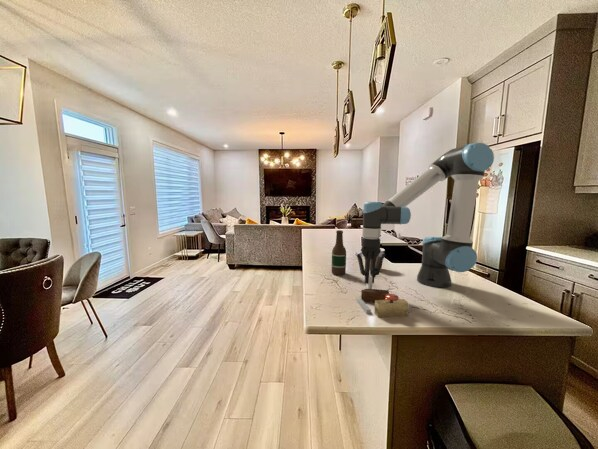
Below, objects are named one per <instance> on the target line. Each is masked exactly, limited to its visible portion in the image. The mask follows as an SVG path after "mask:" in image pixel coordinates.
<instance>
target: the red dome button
mask: <svg viewBox="0 0 598 449" xmlns="http://www.w3.org/2000/svg"><path fill="white" fill-rule="evenodd" d="M385 298H386V299H388V300H375V303H374V314H375V316H376V317H377V318H389V317H391V318H394V317H396V316H397V317H408V316H409V315H408V314H409V312H408V306H409V302H408V300H406V299H405V298H399V296H398V295H397V294H394V293H389V294H386V295H385ZM398 298H399V299H398Z"/></svg>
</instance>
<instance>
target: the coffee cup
mask: <svg viewBox="0 0 598 449" xmlns="http://www.w3.org/2000/svg"><path fill="white" fill-rule="evenodd" d="M380 250H381V252H382V253H384V254H385V251H386V250H385V249H384V248H382V247H380ZM378 257H379V255H378V256H377V258H376V263H375V267H376V264H377V260H378ZM370 266H371V260H370ZM382 267H383V262H382V265H381V269H380V271H381V270H382Z"/></svg>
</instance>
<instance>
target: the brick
mask: <svg viewBox="0 0 598 449" xmlns="http://www.w3.org/2000/svg"><path fill="white" fill-rule="evenodd" d="M389 292H390V291H389V290H387V289H378V288H375V289H374V288H372V289H366V288H364V289H361V295H360V299H362V300H363V301H364V303H371V304H372V303H373V304H375V300H388V299H386V298H385V295H386V294H390V293H389Z"/></svg>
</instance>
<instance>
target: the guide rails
mask: <svg viewBox="0 0 598 449" xmlns="http://www.w3.org/2000/svg"><path fill="white" fill-rule="evenodd" d="M398 299H400V298H399V297H398ZM356 302H357V304H358V305H359V306H360V307H361V309H362V310H363V311H364V313H365V314H367V315H368V314H371V312H372V310H371V309H370V307H369V306H368V305H367V304H366V302H365V301H363V300H362V299H361V298H357V299H356ZM411 311H412V307H411V306H410V305H408V313H411Z"/></svg>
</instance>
